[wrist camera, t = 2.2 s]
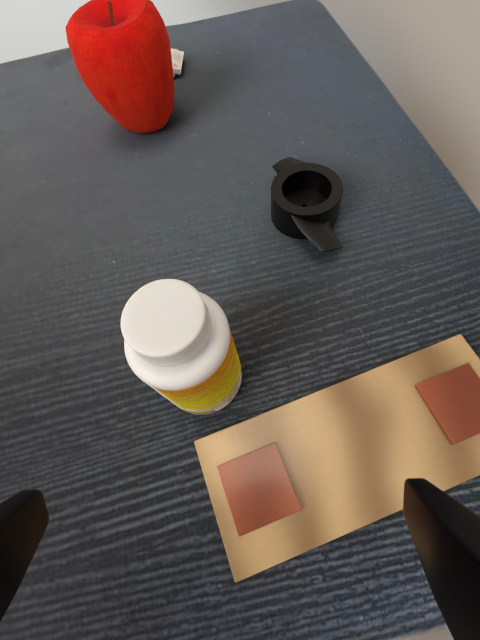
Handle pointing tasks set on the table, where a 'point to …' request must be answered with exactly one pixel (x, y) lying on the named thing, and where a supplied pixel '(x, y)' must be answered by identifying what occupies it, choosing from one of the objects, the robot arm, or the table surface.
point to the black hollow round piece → (306, 202)
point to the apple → (125, 60)
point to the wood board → (343, 455)
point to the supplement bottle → (181, 346)
